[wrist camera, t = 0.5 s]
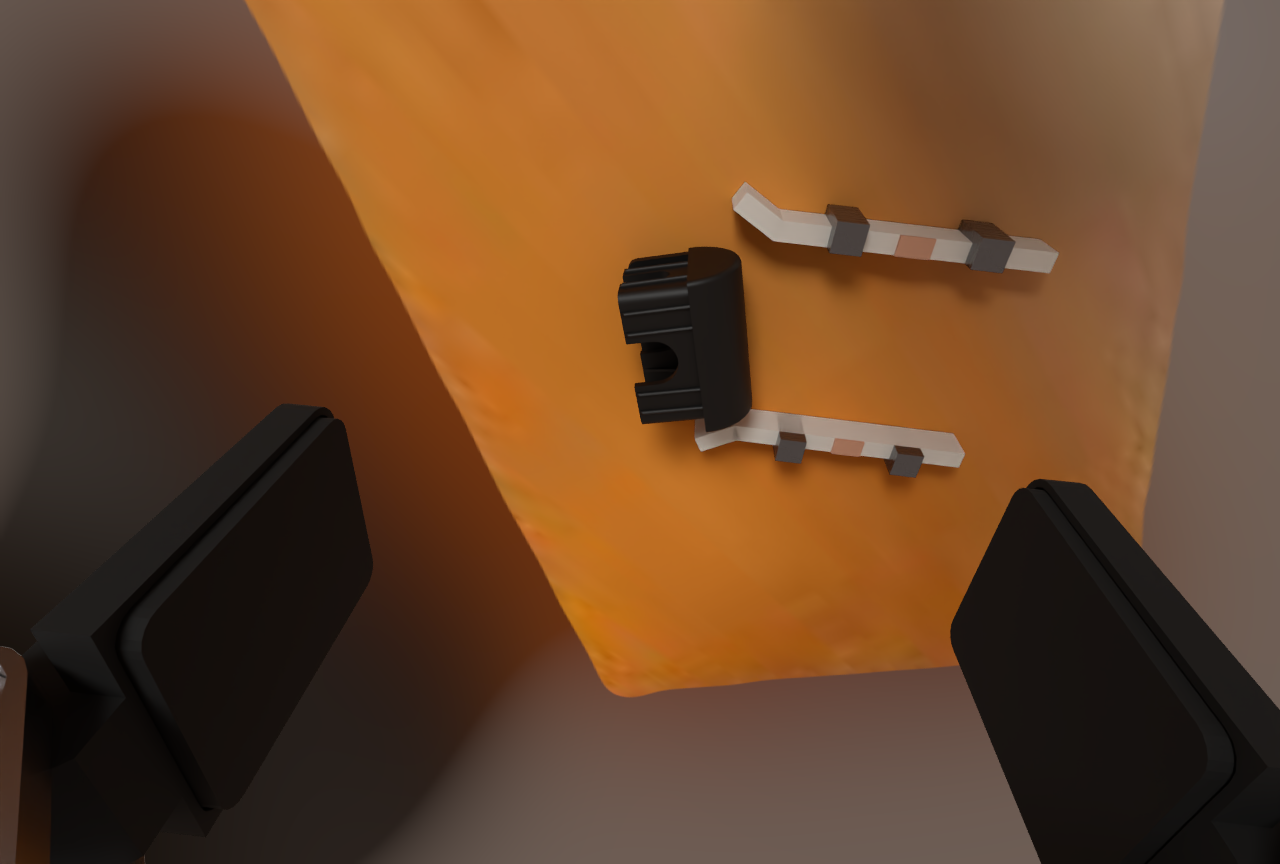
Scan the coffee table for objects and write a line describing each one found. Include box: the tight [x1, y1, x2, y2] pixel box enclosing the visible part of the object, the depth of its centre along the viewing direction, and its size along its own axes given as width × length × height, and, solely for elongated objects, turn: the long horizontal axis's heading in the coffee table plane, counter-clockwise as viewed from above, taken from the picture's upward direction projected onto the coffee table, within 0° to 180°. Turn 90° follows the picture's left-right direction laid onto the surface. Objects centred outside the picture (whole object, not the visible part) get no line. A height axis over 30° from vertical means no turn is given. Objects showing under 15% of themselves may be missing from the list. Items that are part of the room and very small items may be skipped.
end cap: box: [618, 247, 752, 432], centre depth 41 cm, size 10×7×7 cm
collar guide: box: [695, 182, 1059, 478], centre depth 42 cm, size 18×19×4 cm
